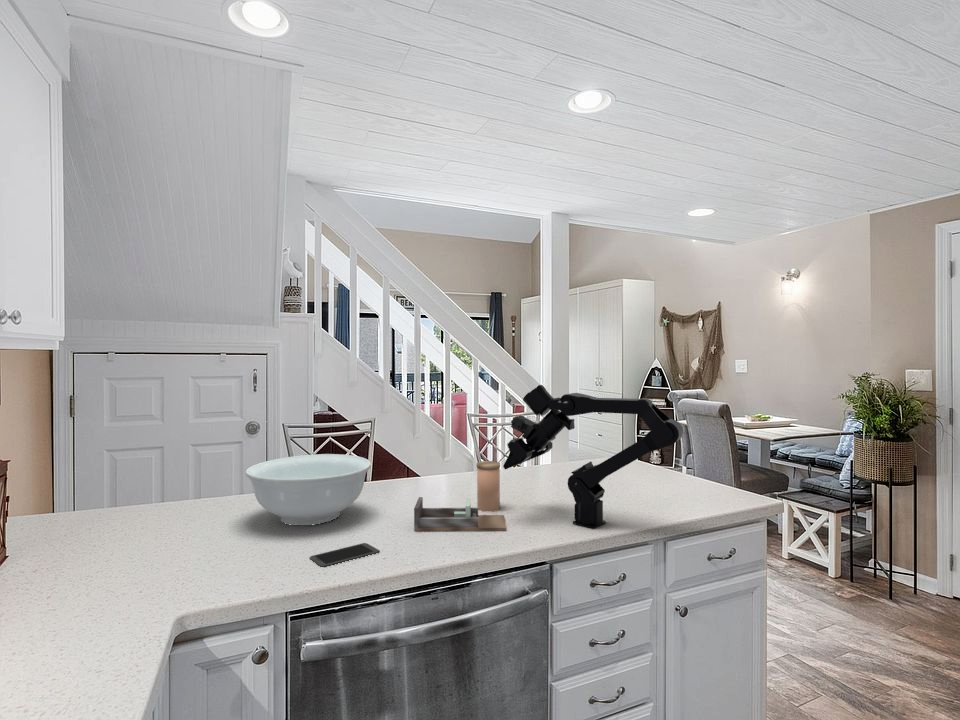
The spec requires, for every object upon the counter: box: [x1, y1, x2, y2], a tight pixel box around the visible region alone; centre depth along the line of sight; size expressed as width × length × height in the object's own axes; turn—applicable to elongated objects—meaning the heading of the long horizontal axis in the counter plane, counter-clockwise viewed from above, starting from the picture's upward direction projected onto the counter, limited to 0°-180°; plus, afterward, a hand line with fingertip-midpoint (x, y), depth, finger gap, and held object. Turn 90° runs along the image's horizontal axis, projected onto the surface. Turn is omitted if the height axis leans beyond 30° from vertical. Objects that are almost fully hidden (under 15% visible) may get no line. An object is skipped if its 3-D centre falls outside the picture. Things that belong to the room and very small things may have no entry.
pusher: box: [454, 498, 472, 518], centre depth 141 cm, size 4×7×5 cm, turn 0°
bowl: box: [245, 453, 372, 526], centre depth 148 cm, size 32×32×15 cm
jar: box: [476, 460, 501, 512], centre depth 156 cm, size 7×7×13 cm
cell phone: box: [309, 542, 381, 568], centre depth 120 cm, size 7×14×1 cm, turn 130°
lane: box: [413, 496, 507, 532], centre depth 141 cm, size 23×11×6 cm, turn 90°
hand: (511, 465), depth 152 cm, fingers open, 9 cm apart
